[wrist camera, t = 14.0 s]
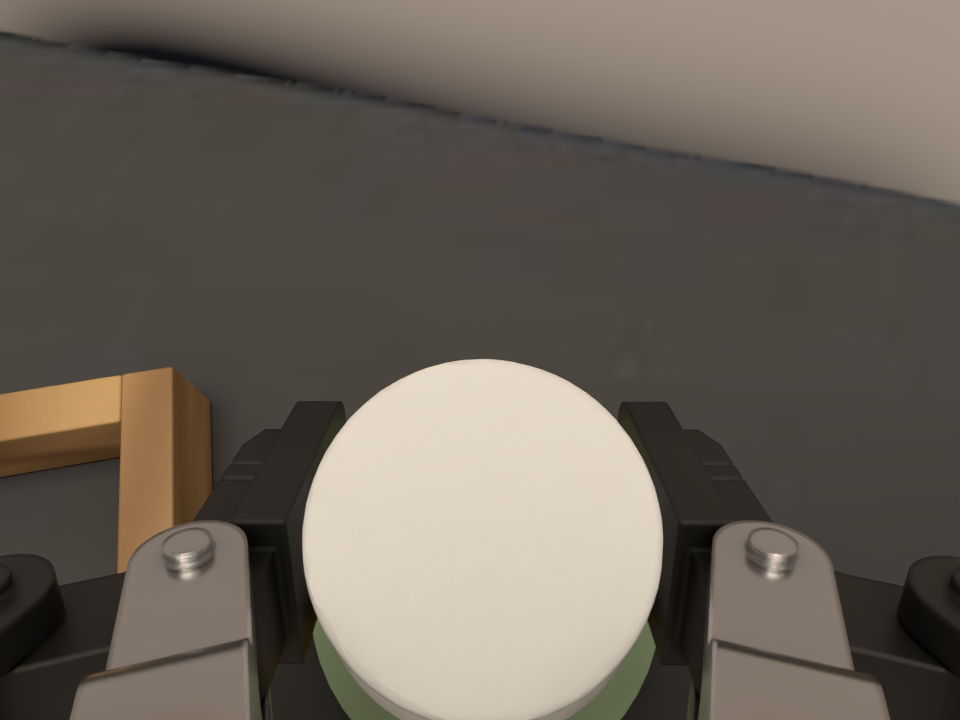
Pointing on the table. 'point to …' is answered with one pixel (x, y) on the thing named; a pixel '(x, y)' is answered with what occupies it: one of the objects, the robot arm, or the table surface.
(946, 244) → the table surface
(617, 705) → the coaster
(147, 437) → the rack
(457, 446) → the supplement bottle
